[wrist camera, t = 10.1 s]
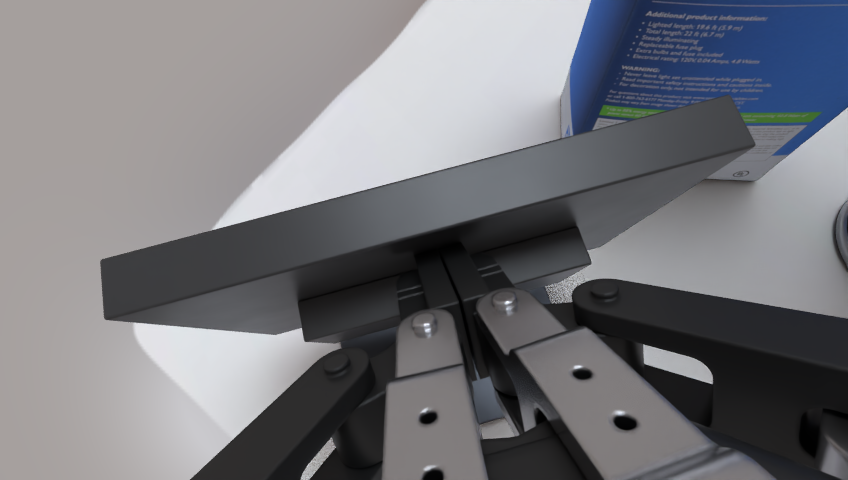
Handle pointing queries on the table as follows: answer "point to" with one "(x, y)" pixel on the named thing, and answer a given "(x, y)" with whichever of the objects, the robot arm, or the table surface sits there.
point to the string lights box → (713, 68)
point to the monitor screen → (425, 230)
